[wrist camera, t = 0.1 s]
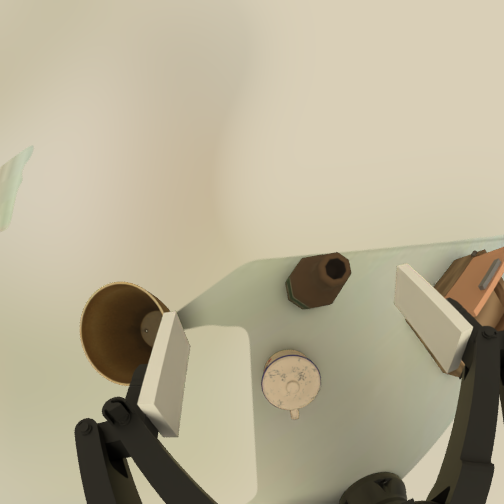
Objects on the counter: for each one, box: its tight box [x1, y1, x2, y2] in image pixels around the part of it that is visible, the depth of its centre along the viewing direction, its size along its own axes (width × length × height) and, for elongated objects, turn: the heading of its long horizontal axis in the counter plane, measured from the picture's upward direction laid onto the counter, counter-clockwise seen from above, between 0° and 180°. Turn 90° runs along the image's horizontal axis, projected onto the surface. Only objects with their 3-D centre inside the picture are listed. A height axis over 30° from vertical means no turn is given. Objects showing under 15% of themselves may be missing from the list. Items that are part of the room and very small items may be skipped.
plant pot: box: [80, 282, 170, 386], centre depth 44 cm, size 15×15×16 cm
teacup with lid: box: [261, 350, 321, 420], centre depth 43 cm, size 12×9×12 cm
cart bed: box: [405, 249, 504, 378], centre depth 42 cm, size 17×18×14 cm
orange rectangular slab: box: [444, 247, 504, 317], centre depth 36 cm, size 2×15×12 cm, turn 129°
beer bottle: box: [286, 252, 351, 309], centre depth 40 cm, size 8×8×24 cm
